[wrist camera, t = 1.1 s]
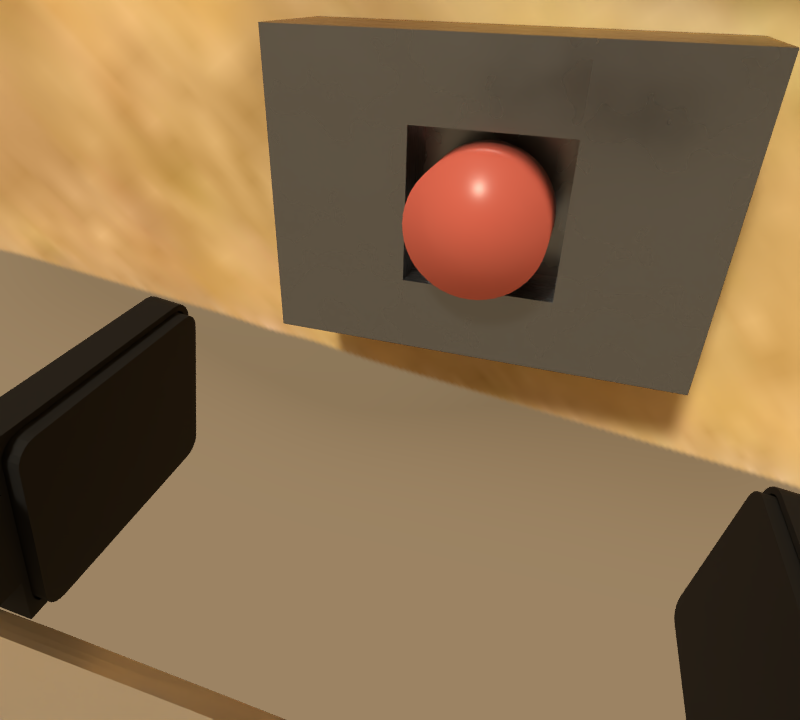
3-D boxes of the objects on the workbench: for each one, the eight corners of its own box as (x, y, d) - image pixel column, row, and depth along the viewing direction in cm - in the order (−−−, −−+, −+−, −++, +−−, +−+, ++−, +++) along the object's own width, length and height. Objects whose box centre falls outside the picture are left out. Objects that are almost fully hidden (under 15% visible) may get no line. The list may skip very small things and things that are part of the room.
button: (567, 146, 25) (560, 163, 23) (545, 282, 28) (537, 310, 26) (424, 133, 27) (404, 148, 24) (419, 263, 30) (400, 288, 27)
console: (766, 35, 26) (799, 47, 21) (678, 334, 33) (687, 395, 28) (318, 16, 30) (258, 22, 26) (328, 279, 38) (283, 323, 33)
